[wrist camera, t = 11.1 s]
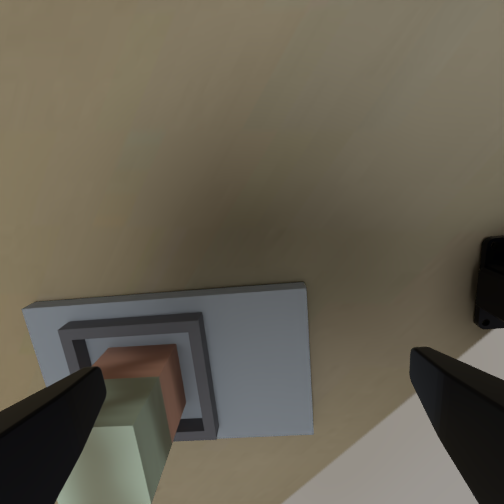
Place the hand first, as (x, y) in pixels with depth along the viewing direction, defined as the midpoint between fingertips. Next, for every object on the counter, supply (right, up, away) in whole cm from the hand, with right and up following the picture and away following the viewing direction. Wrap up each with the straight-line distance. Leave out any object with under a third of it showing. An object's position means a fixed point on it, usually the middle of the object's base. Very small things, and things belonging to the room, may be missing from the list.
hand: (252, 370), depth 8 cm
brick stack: (-8, -6, +13) cm, 16 cm away
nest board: (-6, -5, +14) cm, 16 cm away
